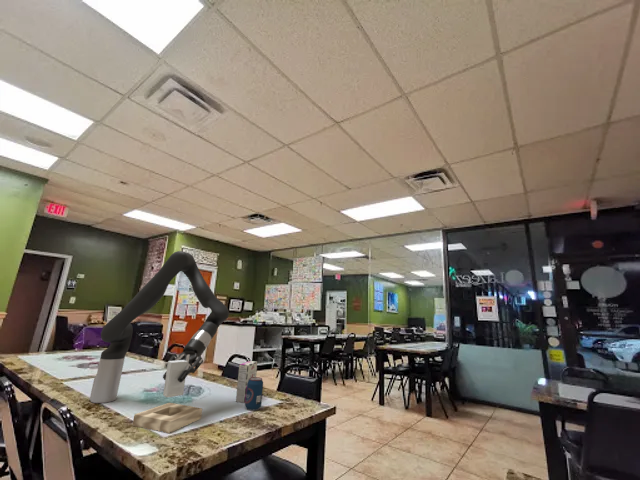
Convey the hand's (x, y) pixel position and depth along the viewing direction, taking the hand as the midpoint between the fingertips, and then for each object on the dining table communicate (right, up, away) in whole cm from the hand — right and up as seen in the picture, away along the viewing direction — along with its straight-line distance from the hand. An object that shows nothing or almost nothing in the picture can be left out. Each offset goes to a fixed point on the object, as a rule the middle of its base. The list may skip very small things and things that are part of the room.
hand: (171, 379), depth 110 cm
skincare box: (0, -6, 0) cm, 6 cm away
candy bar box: (+20, -24, +30) cm, 43 cm away
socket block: (0, -14, -2) cm, 14 cm away
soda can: (+26, -21, +18) cm, 38 cm away
